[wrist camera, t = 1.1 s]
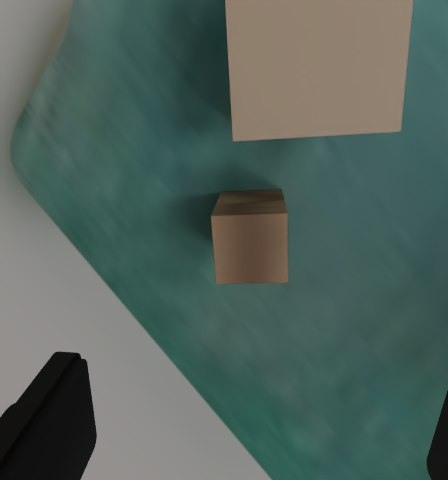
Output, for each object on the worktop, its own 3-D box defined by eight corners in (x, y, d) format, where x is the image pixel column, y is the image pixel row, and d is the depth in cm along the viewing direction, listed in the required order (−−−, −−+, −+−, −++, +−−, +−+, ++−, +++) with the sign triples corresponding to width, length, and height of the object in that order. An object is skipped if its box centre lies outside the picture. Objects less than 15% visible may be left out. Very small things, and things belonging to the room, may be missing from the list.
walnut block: (281, 189, 30) (287, 213, 24) (282, 245, 32) (288, 282, 26) (221, 191, 31) (210, 216, 24) (225, 247, 33) (216, 284, 26)
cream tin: (372, -23, 25) (420, -76, 17) (363, 123, 28) (400, 131, 21) (233, -9, 26) (222, -53, 18) (239, 130, 29) (232, 141, 22)
